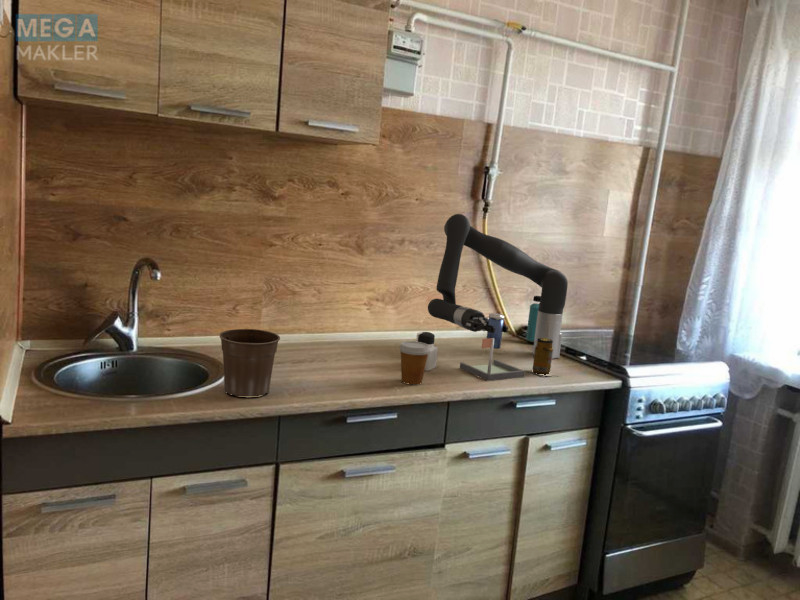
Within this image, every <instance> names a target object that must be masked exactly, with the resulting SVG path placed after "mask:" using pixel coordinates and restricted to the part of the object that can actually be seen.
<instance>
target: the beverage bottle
mask: <svg viewBox="0 0 800 600" xmlns="http://www.w3.org/2000/svg"><path fill="white" fill-rule="evenodd" d="M540 300H541V295H533V300H532V301H533V303H532V304H530V306H529V312H528V319H527V325H526V326H527V328H526V337H525V338H526V340H527V341H530V342H534V340H535V332H536V324H537V316H538V307H539V303H540ZM534 302H537V303H534Z"/></svg>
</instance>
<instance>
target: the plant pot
mask: <svg viewBox="0 0 800 600" xmlns="http://www.w3.org/2000/svg"><path fill="white" fill-rule="evenodd" d="M219 338H220V344H221V351H222V359H223V360H222V361H223V364H222V365H223V382H224V383H223V384H224V385H223V386H224V387H223V389H224V392H225V393H226V392H227V393H229V394H232V395H233V396H235V395H236V397H237V396H259V395H267V394H266V393H268V392H269V393H270V388H271V387H270V385H271V378H272V374H273V373H272V372H273V367H274V362H275V356H276V354H277V353H276V352H277V350H278V344H279V341H280V340H281V337H280V335H279V334H277V333H275V332H272V331H268V330H264V329H263V330H262V329H255V328H254V329H253V328H235V329H228V330H224V331H221V332H220V333H219ZM227 393H226V394H227ZM269 393H268V394H269Z"/></svg>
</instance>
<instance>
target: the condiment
mask: <svg viewBox="0 0 800 600" xmlns="http://www.w3.org/2000/svg"><path fill="white" fill-rule="evenodd" d="M552 346H553V341H552V340H551V339H548V338H538V340H537V345H536V347H535V354H534V355H533V356H534V357H533V362H532V369H527V371H528V372H530V373H532V374H535V375H537V374H544V375H546V374H549V372H550V373H551V368H552V363H553V362H552V360H553V359H552V353H553V348H552ZM532 370H533V372H532ZM536 373H537V374H536ZM553 375H556V374H555V373H553ZM538 376H539V377H543V378H545V376H543V375H538Z"/></svg>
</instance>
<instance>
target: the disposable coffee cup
mask: <svg viewBox="0 0 800 600" xmlns="http://www.w3.org/2000/svg"><path fill="white" fill-rule="evenodd" d="M398 348H399V351H400V372H401V376H400V377H401V382H402V381H403V382H405V383H409V384H419V385H421V384H423V379H424V378H423V377H424V374H425V371H424V370H425V366H426V361H427V356H428V353H429V351H430V349H429V345H428V344H425V343H422V342H416V340H414V341H412V340H410V341H409V340H407V341H406V340H405V341H402V342H401V343H400V345H399V346H398ZM403 382H402V383H403ZM405 383H404V384H405ZM420 383H421V384H420ZM409 384H408V385H409Z"/></svg>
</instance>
